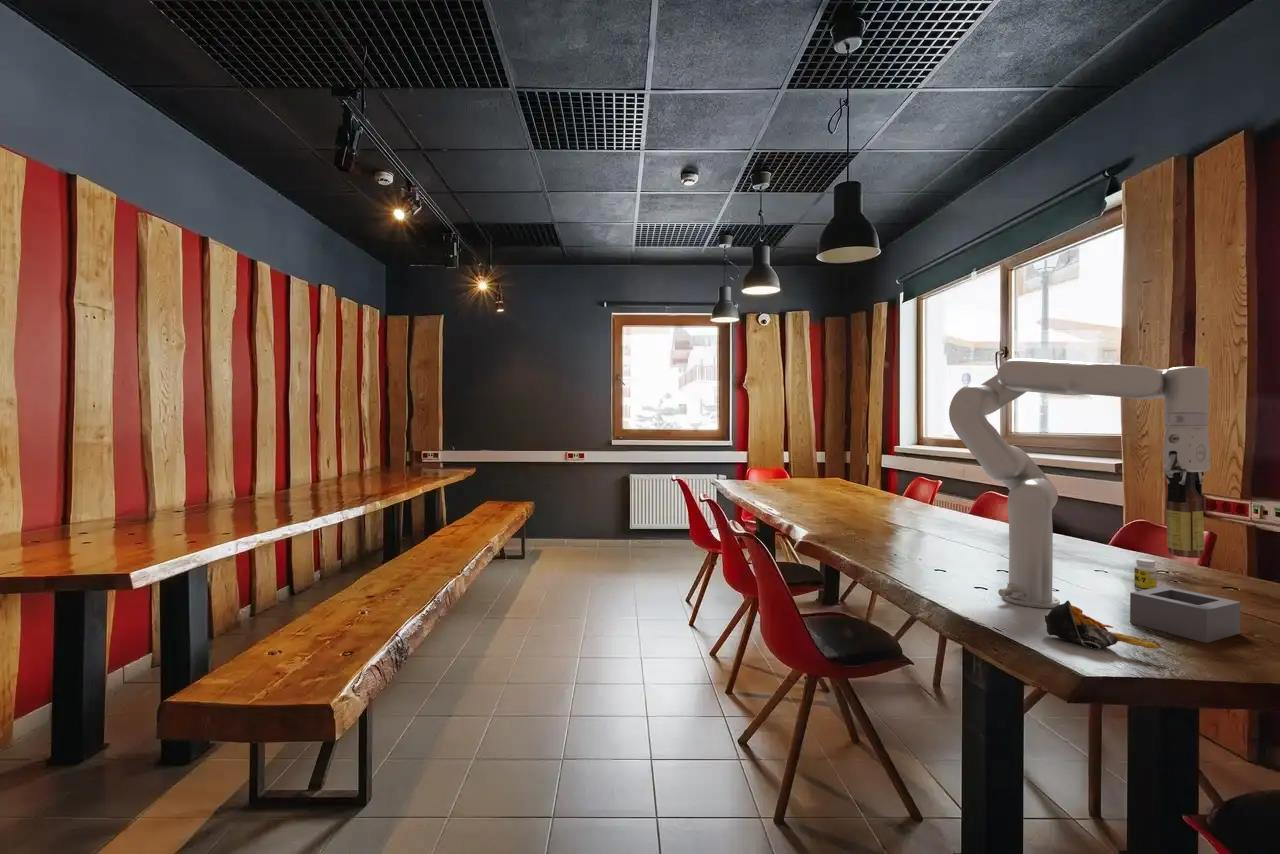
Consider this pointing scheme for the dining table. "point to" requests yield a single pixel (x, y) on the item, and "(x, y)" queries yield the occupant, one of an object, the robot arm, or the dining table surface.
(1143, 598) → the box
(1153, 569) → the supplement bottle
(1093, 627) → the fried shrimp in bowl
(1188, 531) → the sauce bottle
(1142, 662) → the dining table surface
